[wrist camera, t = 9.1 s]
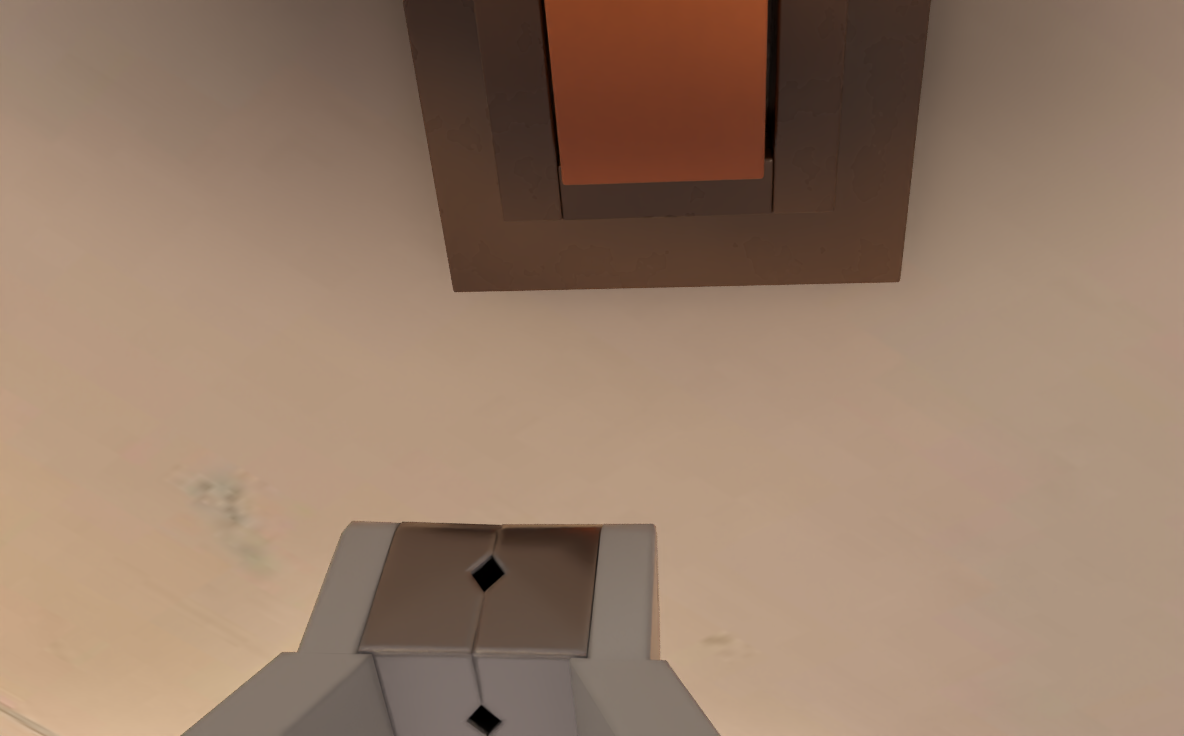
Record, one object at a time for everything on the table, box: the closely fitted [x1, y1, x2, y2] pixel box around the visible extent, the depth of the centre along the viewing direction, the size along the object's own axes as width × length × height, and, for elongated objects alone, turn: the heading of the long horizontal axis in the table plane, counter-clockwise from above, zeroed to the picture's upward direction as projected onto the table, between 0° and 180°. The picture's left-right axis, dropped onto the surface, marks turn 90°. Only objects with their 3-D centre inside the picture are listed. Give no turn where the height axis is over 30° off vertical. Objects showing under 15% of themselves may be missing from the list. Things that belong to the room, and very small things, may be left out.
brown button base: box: [403, 0, 931, 292], centre depth 21 cm, size 12×10×3 cm
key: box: [544, 0, 768, 185], centre depth 19 cm, size 4×4×2 cm
